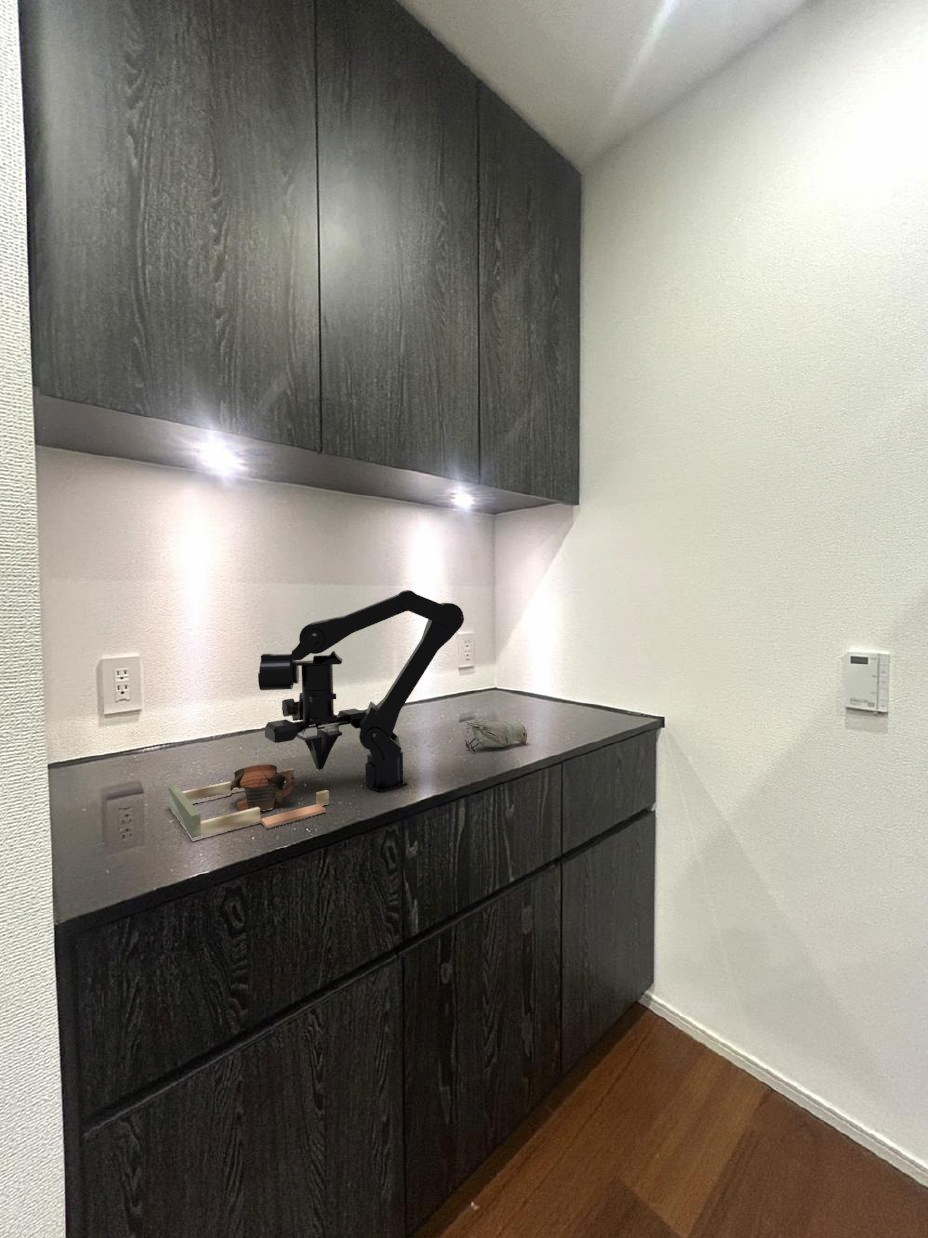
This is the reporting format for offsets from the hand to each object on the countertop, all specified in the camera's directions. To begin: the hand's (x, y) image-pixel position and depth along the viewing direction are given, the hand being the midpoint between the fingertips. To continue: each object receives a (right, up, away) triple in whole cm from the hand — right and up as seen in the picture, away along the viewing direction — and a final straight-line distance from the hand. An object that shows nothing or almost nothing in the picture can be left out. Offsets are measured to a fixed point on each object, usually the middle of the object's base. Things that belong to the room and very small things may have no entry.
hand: (319, 769), depth 104 cm
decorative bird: (+36, -3, +27) cm, 45 cm away
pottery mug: (-8, -5, -7) cm, 12 cm away
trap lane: (-10, -4, -8) cm, 13 cm away
